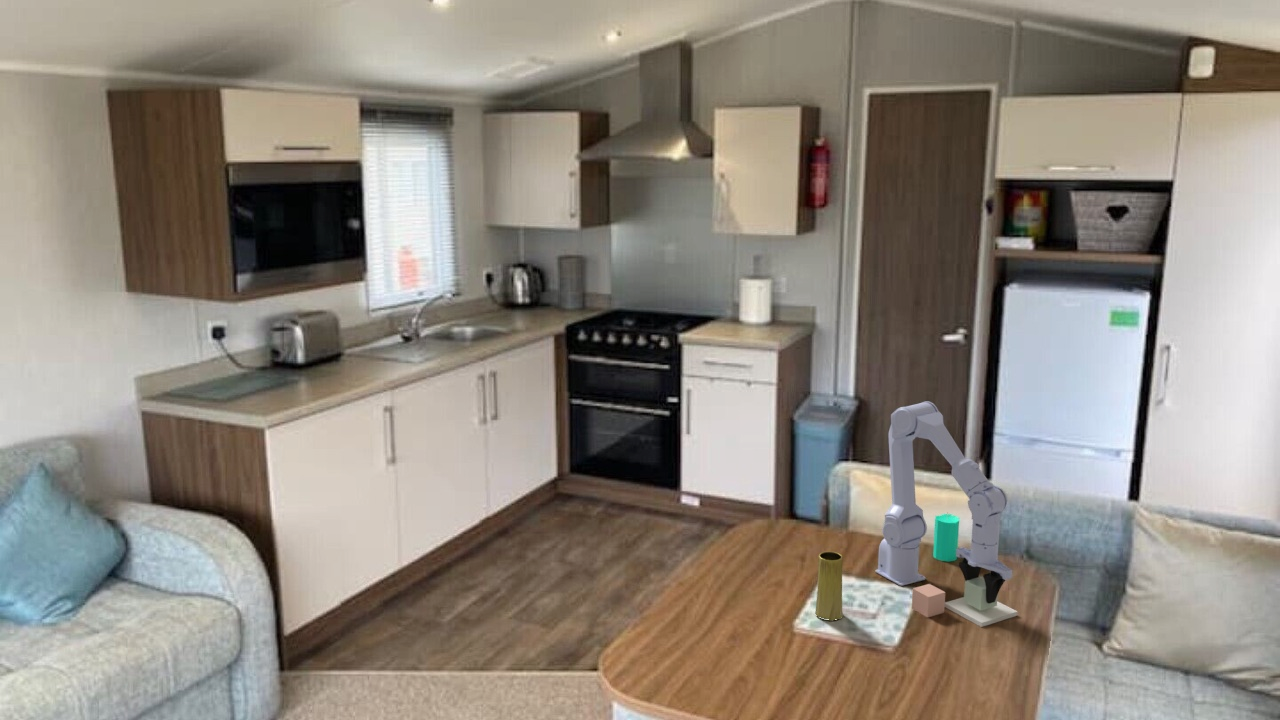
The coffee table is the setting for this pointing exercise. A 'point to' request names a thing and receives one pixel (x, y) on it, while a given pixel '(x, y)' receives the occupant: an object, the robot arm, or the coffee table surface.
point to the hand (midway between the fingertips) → (981, 597)
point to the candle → (946, 537)
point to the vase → (829, 586)
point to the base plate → (981, 612)
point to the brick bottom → (977, 594)
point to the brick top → (928, 600)
